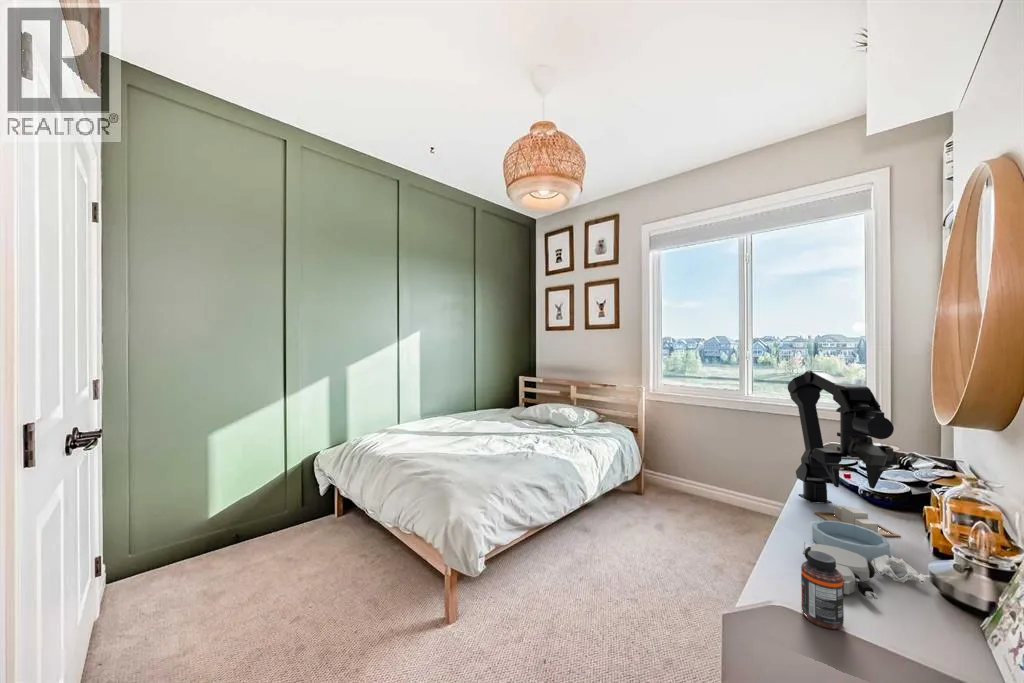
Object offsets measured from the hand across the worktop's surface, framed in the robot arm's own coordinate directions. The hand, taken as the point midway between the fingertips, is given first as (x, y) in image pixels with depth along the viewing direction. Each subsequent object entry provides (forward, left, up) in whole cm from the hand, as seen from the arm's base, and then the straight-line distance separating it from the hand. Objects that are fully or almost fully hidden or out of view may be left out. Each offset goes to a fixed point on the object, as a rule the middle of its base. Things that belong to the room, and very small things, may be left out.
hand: (854, 487), depth 109 cm
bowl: (+13, -11, -11) cm, 20 cm away
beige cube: (0, 0, -10) cm, 10 cm away
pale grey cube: (+5, -1, -10) cm, 11 cm away
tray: (0, 0, -11) cm, 11 cm away
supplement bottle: (+41, -36, -11) cm, 56 cm away
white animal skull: (+26, -11, -11) cm, 30 cm away
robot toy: (+28, -24, -11) cm, 38 cm away
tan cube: (-4, 0, -10) cm, 11 cm away
